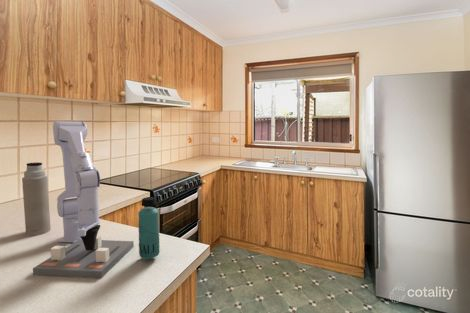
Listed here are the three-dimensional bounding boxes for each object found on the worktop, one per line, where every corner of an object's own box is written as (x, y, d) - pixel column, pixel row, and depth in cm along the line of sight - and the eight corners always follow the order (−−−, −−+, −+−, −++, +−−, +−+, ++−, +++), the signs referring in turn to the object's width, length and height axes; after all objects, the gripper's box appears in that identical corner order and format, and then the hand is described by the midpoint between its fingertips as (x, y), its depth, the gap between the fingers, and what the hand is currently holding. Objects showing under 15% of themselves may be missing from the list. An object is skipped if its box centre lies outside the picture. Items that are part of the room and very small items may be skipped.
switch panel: (79, 244, 94) (78, 229, 93) (133, 246, 93) (133, 231, 92) (33, 275, 74) (32, 256, 74) (101, 278, 73) (100, 259, 72)
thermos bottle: (20, 235, 101) (15, 164, 98) (34, 228, 109) (29, 161, 106) (43, 235, 102) (38, 164, 99) (54, 227, 110) (50, 161, 107)
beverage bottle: (154, 252, 89) (152, 194, 87) (164, 259, 84) (163, 198, 82) (135, 258, 84) (133, 197, 82) (144, 266, 80) (143, 201, 78)
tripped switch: (93, 245, 88) (92, 235, 88) (101, 246, 88) (101, 236, 87) (89, 248, 86) (88, 238, 86) (98, 248, 86) (97, 238, 85)
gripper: (82, 202, 89) (84, 241, 90) (64, 216, 75) (67, 261, 76) (104, 201, 90) (106, 239, 92) (91, 214, 76) (93, 259, 78)
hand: (90, 249), depth 84 cm, fingers closed
